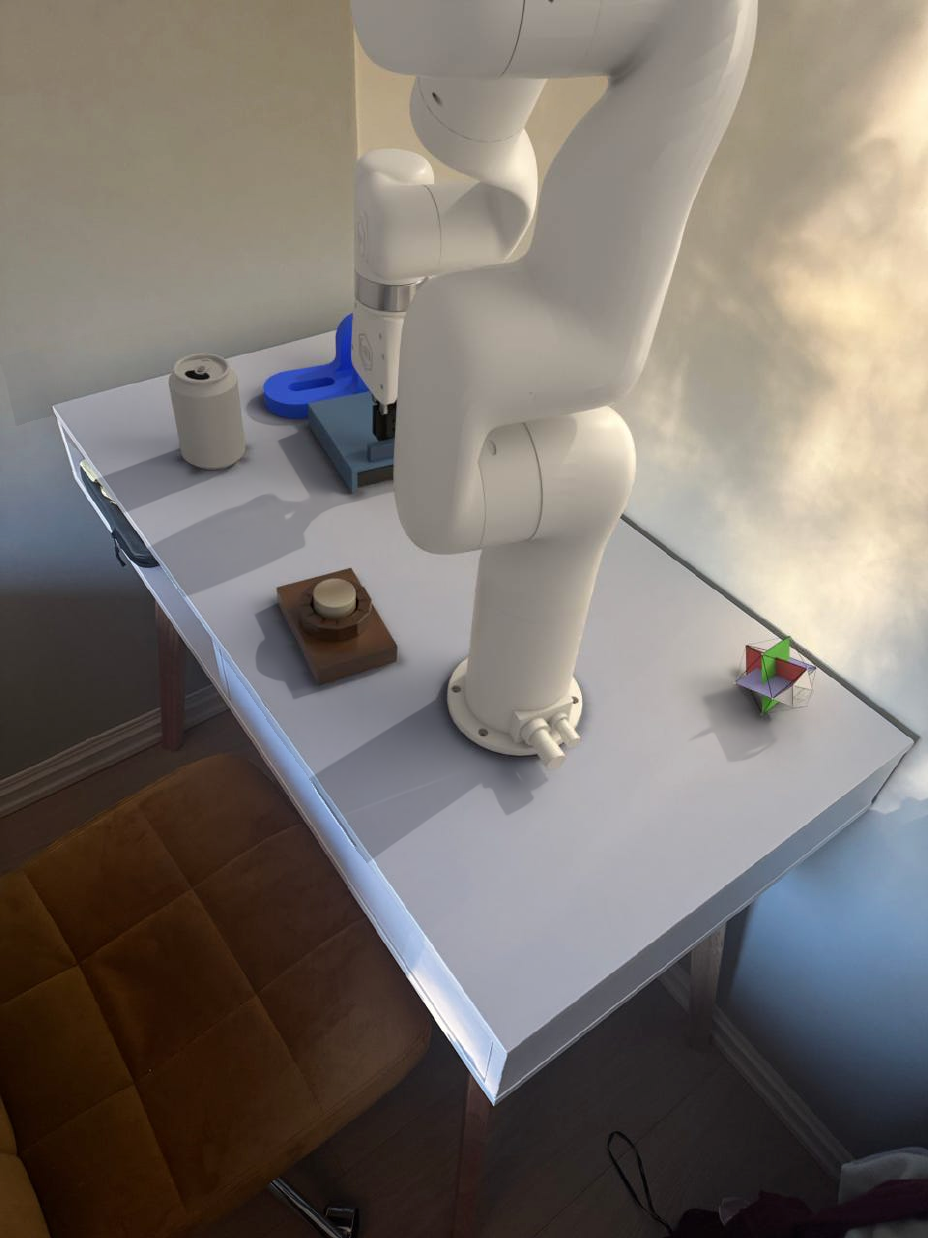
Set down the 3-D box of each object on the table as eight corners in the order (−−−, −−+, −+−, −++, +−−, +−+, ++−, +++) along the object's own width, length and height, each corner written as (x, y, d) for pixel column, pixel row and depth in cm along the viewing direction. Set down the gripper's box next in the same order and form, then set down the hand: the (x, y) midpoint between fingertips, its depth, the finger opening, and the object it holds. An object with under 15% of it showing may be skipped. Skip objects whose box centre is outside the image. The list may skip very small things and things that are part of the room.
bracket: (383, 368, 126) (384, 306, 119) (407, 398, 121) (409, 336, 114) (256, 390, 119) (250, 326, 113) (275, 423, 114) (270, 359, 108)
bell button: (362, 613, 87) (361, 600, 85) (322, 625, 85) (321, 612, 84) (346, 587, 89) (346, 574, 88) (308, 597, 88) (307, 584, 86)
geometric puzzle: (706, 663, 87) (766, 648, 80) (751, 634, 91) (813, 618, 83) (739, 729, 87) (802, 721, 80) (783, 698, 91) (847, 687, 84)
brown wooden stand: (397, 661, 88) (398, 632, 85) (318, 686, 85) (316, 657, 82) (351, 582, 95) (350, 554, 92) (277, 602, 92) (274, 573, 89)
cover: (437, 472, 109) (439, 435, 105) (351, 493, 105) (351, 455, 101) (389, 409, 118) (389, 373, 114) (308, 425, 114) (306, 388, 110)
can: (169, 464, 107) (152, 373, 98) (202, 431, 112) (188, 342, 103) (227, 480, 106) (214, 389, 97) (257, 446, 111) (247, 357, 102)
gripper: (330, 257, 95) (334, 407, 108) (386, 327, 86) (383, 480, 99) (396, 248, 97) (392, 395, 111) (457, 315, 89) (444, 466, 102)
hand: (387, 435), depth 105 cm, fingers closed
